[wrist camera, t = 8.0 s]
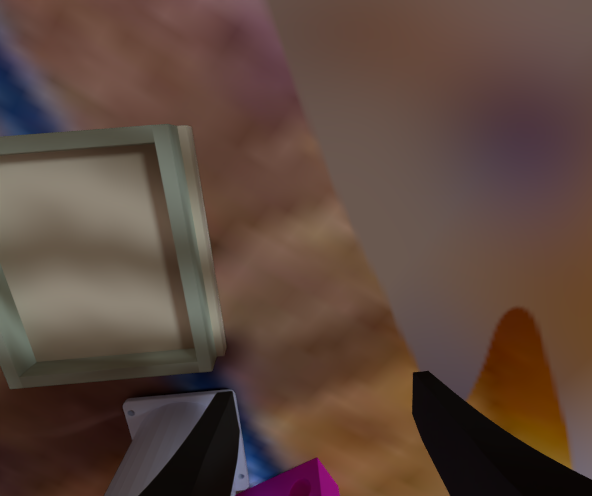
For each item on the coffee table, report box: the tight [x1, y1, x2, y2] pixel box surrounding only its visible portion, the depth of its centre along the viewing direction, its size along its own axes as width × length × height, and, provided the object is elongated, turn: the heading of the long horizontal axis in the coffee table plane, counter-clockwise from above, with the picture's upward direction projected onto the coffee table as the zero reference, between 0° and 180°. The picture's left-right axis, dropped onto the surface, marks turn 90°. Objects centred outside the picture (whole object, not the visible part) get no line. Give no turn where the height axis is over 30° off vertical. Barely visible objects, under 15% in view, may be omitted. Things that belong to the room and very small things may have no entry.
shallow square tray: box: [0, 124, 227, 389], centre depth 19 cm, size 15×14×2 cm
